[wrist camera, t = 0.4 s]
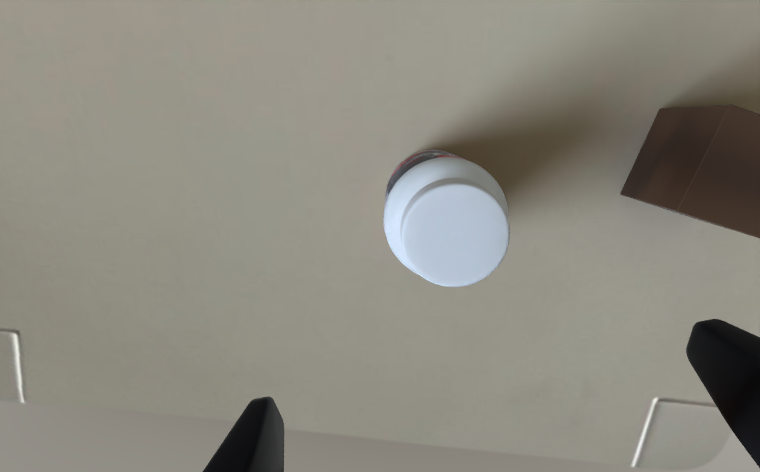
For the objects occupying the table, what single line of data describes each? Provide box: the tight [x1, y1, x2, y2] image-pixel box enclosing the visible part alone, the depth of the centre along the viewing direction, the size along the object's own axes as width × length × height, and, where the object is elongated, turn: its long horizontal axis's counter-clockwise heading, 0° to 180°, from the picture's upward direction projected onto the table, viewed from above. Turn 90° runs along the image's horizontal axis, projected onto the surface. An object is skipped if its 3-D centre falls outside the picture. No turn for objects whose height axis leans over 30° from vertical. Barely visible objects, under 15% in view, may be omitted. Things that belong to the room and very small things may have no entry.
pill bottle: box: [383, 150, 510, 287], centre depth 20 cm, size 5×5×10 cm
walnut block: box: [621, 105, 760, 238], centre depth 22 cm, size 5×5×5 cm
